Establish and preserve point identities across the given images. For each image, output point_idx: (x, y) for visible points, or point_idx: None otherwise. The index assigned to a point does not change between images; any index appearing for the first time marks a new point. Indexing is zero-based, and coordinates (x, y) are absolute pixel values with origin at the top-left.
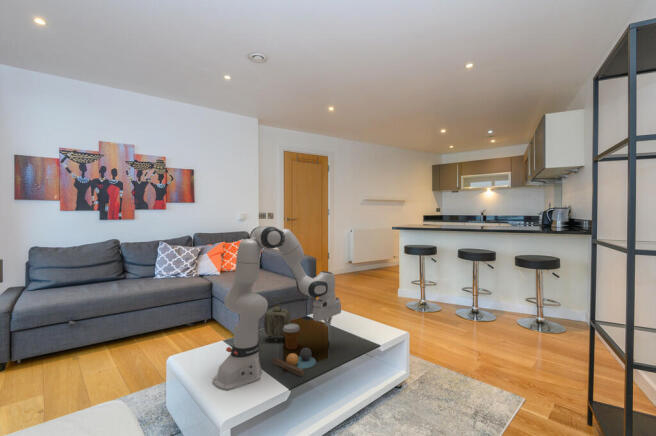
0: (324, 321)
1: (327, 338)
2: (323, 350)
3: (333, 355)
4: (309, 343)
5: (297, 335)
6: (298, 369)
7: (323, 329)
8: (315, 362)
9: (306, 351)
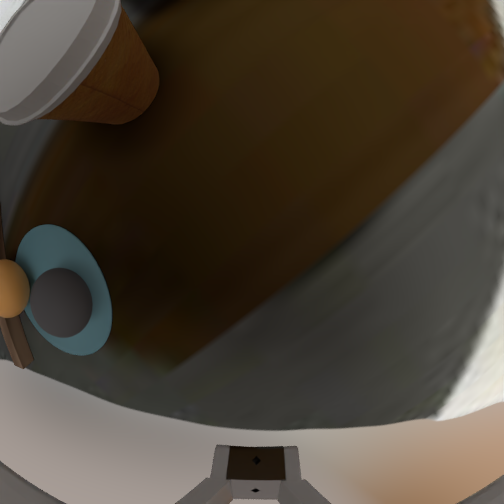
0: (195, 489)
1: (405, 177)
2: (226, 294)
3: (216, 376)
4: (249, 125)
5: (80, 110)
6: (11, 352)
7: (471, 76)
8: (96, 349)
9: (43, 329)
